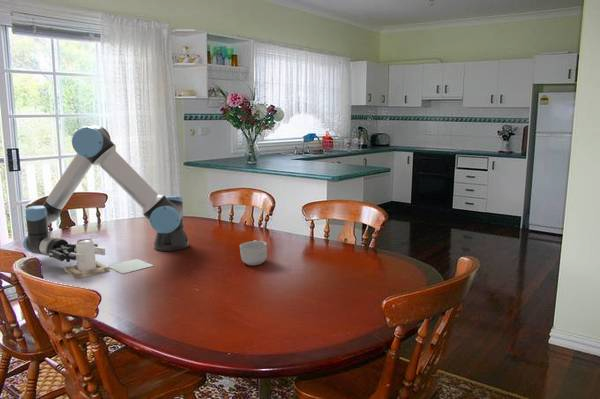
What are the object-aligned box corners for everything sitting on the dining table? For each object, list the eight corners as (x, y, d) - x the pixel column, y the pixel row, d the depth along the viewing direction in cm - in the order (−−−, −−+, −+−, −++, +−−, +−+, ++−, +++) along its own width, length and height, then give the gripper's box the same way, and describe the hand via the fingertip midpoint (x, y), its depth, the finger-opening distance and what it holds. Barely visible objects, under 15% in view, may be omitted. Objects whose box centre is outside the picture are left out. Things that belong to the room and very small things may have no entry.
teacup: (263, 268, 193) (262, 248, 192) (236, 266, 195) (235, 246, 194) (272, 257, 207) (271, 239, 205) (247, 256, 209) (246, 237, 207)
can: (100, 269, 192) (97, 239, 190) (86, 274, 187) (83, 243, 184) (87, 267, 195) (85, 237, 193) (74, 272, 189) (71, 241, 187)
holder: (95, 264, 199) (95, 260, 199) (109, 270, 191) (109, 267, 191) (64, 271, 190) (64, 267, 190) (78, 278, 182) (77, 274, 182)
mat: (137, 259, 205) (136, 258, 205) (153, 266, 196) (153, 265, 196) (106, 266, 196) (106, 266, 196) (122, 274, 187) (122, 273, 187)
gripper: (79, 250, 208) (117, 257, 197) (30, 264, 189) (69, 272, 179) (77, 232, 207) (116, 238, 196) (28, 245, 188) (67, 252, 177)
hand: (93, 255), depth 187 cm, fingers open, 9 cm apart
